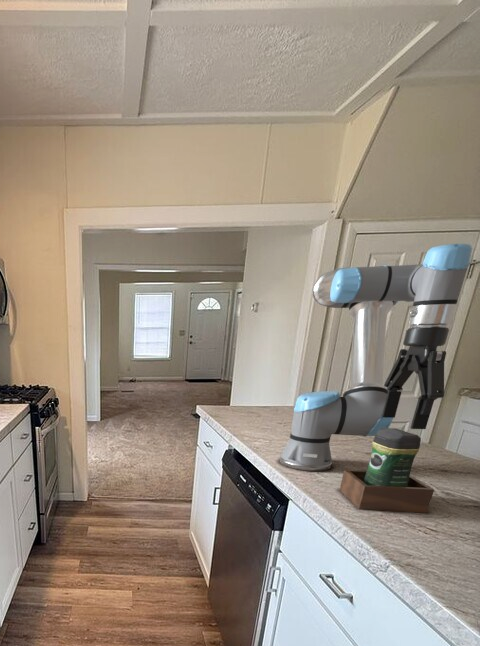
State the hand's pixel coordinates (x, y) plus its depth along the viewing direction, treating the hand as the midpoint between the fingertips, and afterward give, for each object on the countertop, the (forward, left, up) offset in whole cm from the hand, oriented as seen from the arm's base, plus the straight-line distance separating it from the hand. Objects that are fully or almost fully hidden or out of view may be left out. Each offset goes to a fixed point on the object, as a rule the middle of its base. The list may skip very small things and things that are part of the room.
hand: (401, 422), depth 96 cm
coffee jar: (0, 0, -21) cm, 21 cm away
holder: (0, 0, -20) cm, 20 cm away
